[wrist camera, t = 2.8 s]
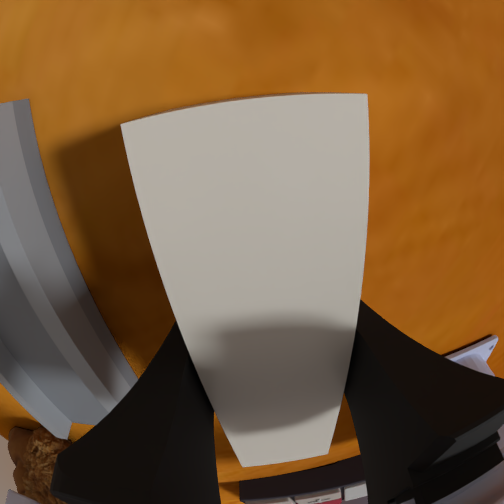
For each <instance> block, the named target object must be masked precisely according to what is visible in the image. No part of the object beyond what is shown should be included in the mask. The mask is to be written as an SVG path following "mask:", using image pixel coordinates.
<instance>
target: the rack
mask: <svg viewBox="0 0 504 504" xmlns="http://www.w3.org/2000/svg"><path fill="white" fill-rule="evenodd" d="M137 381H138V378H137V376H136V375H135V373H134V372H133V370H132V368H131V367H130V365H129V364H128V362H127V360H126V359H125V357H124V355H123V354H122V352H121V350H120V349H119V347H118V345H117V343H116V342H115V340H114V338H113V336H112V335H111V333H110V331H109V329H108V327H107V325H106V324H105V322H104V320H103V318H102V316H101V314H100V312H99V310H98V308H97V306H96V304H95V302H94V300H93V298H92V296H91V294H90V292H89V290H88V288H87V285H86V283H85V281H84V279H83V277H82V274H81V272H80V270H79V268H78V265H77V263H76V261H75V258H74V256H73V254H72V251H71V249H70V246H69V244H68V241H67V238H66V236H65V233H64V231H63V228H62V225H61V222H60V220H59V217H58V214H57V211H56V208H55V205H54V202H53V199H52V196H51V192H50V189H49V186H48V183H47V179H46V176H45V172H44V168H43V165H42V161H41V157H40V153H39V149H38V144H37V140H36V135H35V131H34V126H33V121H32V115H31V110H30V104H29V99H24V100H18V101H12V102H7V103H1V104H0V383H1V384H2V385H3V386H4V387H5V388H6V389H7V390H8V392H9V393H10V394H11V395H12V396H13V397H14V398H15V399H16V400H17V401H18V402H19V403H20V404H21V405H22V406H23V407H24V408H25V409H26V410H27V411H28V412H29V413H30V414H31V415H32V416H33V417H34V418H35V419H36V420H37V421H38V422H40V423H41V424H42V425H43V426H44V427H45V428H46V429H47V430H49V431H50V432H51V433H52V434H53V435H54V436H56V437H57V438H61V439H66V440H67V439H68V435H69V431H70V427H71V424H72V422H74V423H81V424H89V425H97V424H98V423H99V422H100V421H101V420H102V419H103V418H104V417H105V416H106V415H108V414H109V413H110V412H111V410H112V409H113V408H114V407H115V406H116V405H117V404H118V403H119V402H120V401H121V400H122V399H123V397H124V396H125V395H126V394H127V393H128V392H129V391H130V389H131V388H132V387H133V386H134V384H135V383H136V382H137Z"/></svg>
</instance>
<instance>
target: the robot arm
mask: <svg viewBox="0 0 504 504" xmlns="http://www.w3.org/2000/svg"><path fill="white" fill-rule="evenodd" d="M497 341H498V337H497V336H496V335H493V336H491V337H489V338H487V339H485V340H483V341H481V342H479V343H476V344H474V345H472V346H470V347H467V348H465V349H463V350H460V351H458V352H455V353H453V354H451V355H448V356H446V357H443V356H441V355H439V354H437V353H435V352H434V351H432V350H430V349H428V348H426V347H425V346H423V345H421V344H420V343H418V342H416V341H415V340H413V339H412V338H410V337H408V336H407V335H405V334H404V333H402V332H401V331H400V330H398V329H397V328H395V327H394V326H393V325H391V324H390V323H388V322H387V321H386V320H385V319H383V318H382V317H381V316H380V315H378V314H377V313H376V312H375V311H373V310H372V309H371V308H370V307H369V306H367V305H366V304H365V303H364V302H363V301H362V300H360V304H359V311H358V318H357V324H356V331H355V337H354V343H353V348H352V354H351V359H350V364H349V370H348V374H347V379H346V384H345V389H344V394H345V396H346V399H347V402H348V405H349V408H350V411H351V415H352V419H353V423H354V427H355V430H356V435H357V439H358V444H359V448H360V453H361V458H362V463H363V469H364V474H365V481H366V488H367V495H368V504H504V379H502V378H499V377H495V376H494V374H493V372H492V371H491V369H490V368H489V366H488V365H487V363H486V360H487V359H488V357H489V355H490V354H491V352H492V350H493V348H494V347H495V345H496V343H497ZM50 492H51V494H52V495H53V496H54V497H56V498H58V499H59V500H61V501H63V502H65V503H68V504H221V500H220V493H219V485H218V477H217V468H216V457H215V444H214V409H213V407H212V405H211V402H210V400H209V398H208V396H207V394H206V391H205V389H204V387H203V385H202V382H201V380H200V378H199V375H198V373H197V371H196V368H195V366H194V364H193V361H192V359H191V356H190V354H189V351H188V349H187V346H186V344H185V341H184V339H183V336H182V334H181V331H180V329H179V326H178V323H177V321H176V322H175V323H174V325H173V327H172V329H171V330H170V332H169V334H168V336H167V337H166V339H165V341H164V342H163V344H162V346H161V347H160V349H159V351H158V352H157V354H156V355H155V357H154V358H153V360H152V361H151V363H150V364H149V366H148V367H147V369H146V370H145V371H144V373H143V374H142V375H141V377H140V378H139V379H138V381H137V382H136V383H135V384H134V386H133V387H132V388H131V389H130V391H129V392H128V393H127V394H126V395H125V396H124V397H123V399H122V400H121V401H120V402H119V403H118V404H117V405H116V406H115V407H114V408H113V409H112V410H111V412H110V413H109V414H108V415H106V416H105V417H104V418H103V419H102V420H101V421H100V422H99V423H98V424H97V425H96V426H94V427H93V428H92V429H91V430H90V431H89V432H87V433H86V434H85V435H84V436H82V437H81V438H80V439H79V440H77V441H76V442H74V443H73V444H72V445H70V446H69V447H67V448H66V449H65V450H63V451H62V452H60V453H59V454H58V455H57V458H56V462H55V466H54V471H53V475H52V480H51V485H50ZM6 504H41V503H39V502H37V501H34V500H32V499H30V498H28V497H26V496H23V495H21V494H19V493H17V492H15V491H13V490H11V489H9V490H8V494H7V498H6Z"/></svg>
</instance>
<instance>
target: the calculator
mask: <svg viewBox="0 0 504 504" xmlns="http://www.w3.org/2000/svg"><path fill="white" fill-rule="evenodd" d="M239 490H240V501H241V502H243V503H245V504H340V503H342V500H345V501H348V500H352V499H356V498H360V497H363V496H367V488H366V481H365V474H364V469H363V463H362V458H361V455H358V456H355V457H351V458H348V459H345V460H342V461H338V462H337V463H335V464H332V465H328V466H323V467H318V468H313V469H308V470H303V471H298V472H293V473H288V474H283V475H278V476H272V477H266V478H259V479H252V480H244V481H240V482H239Z"/></svg>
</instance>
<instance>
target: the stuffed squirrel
mask: <svg viewBox="0 0 504 504" xmlns="http://www.w3.org/2000/svg"><path fill="white" fill-rule="evenodd" d="M70 445H72V443H71V441H69V440H68V439H67V440H66V439H61V438H57V437H56V436H54V435H53V434H52V433H51V432H50V431H49V430H47V429H46V428H44V427H39V428H38V430H35V429H34V432H33V431H30V430H26V429H22V428H18V427H14V428H13V429H11V431H10V432H9V442H8V450H9V454H10V456H11V459H12V460H13V462H14V464H15V465H16V468H15V470H14V472H13V477H14V481H15V484H16V486H17V491H18V493H19V494H21V495H23V496H26V497H28V498H30V499H32V500H34V501H37V502H39V503H41V504H68V503H65V502H63V501H61V500H59V499H58V498H56V497H54V496H53V495H52V494H51V492H50V485H51V480H52V475H53V471H54V466H55V462H56V458H57V455H58V454H59V453H60V452H62V451H63V450H65V449H66V448H67V447H69V446H70Z"/></svg>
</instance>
